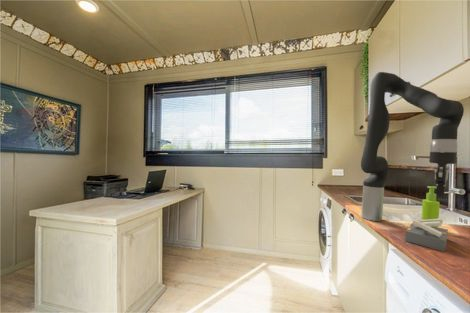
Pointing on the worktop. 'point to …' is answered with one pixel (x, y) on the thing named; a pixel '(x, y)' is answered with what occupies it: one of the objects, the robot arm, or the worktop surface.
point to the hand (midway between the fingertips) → (440, 195)
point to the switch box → (427, 237)
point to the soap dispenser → (430, 205)
